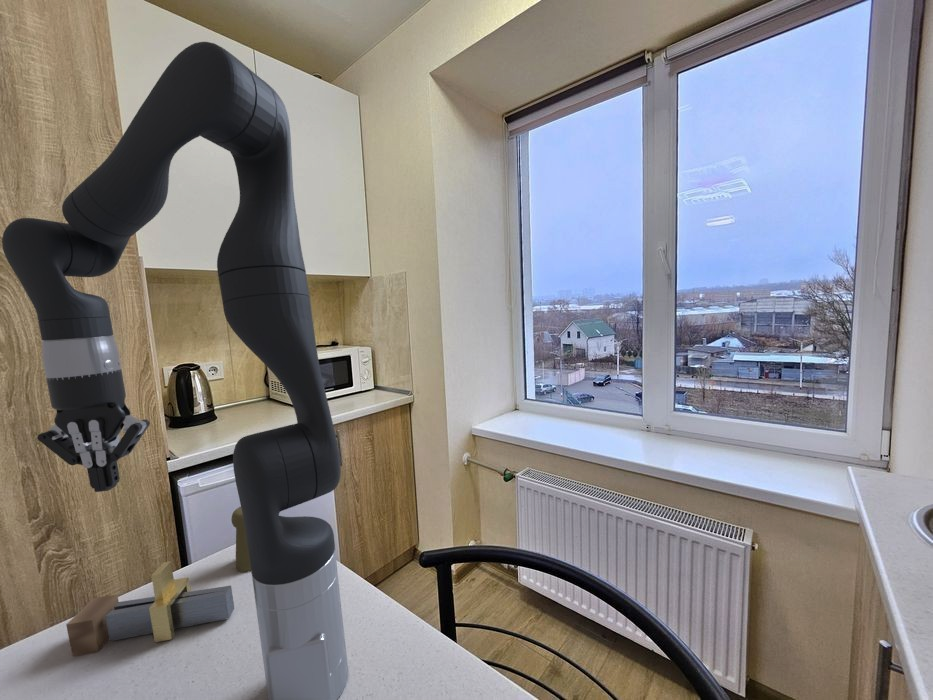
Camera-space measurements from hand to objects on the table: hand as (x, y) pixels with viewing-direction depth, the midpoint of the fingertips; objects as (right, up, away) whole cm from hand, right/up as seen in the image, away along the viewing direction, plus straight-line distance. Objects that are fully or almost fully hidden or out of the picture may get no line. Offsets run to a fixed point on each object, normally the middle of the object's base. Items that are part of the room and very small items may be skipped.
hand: (106, 488), depth 56 cm
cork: (+11, -21, +18) cm, 30 cm away
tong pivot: (-3, -23, +2) cm, 23 cm away
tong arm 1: (+7, -22, +3) cm, 23 cm away
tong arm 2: (+7, -22, +4) cm, 23 cm away
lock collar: (+7, -22, +4) cm, 23 cm away
